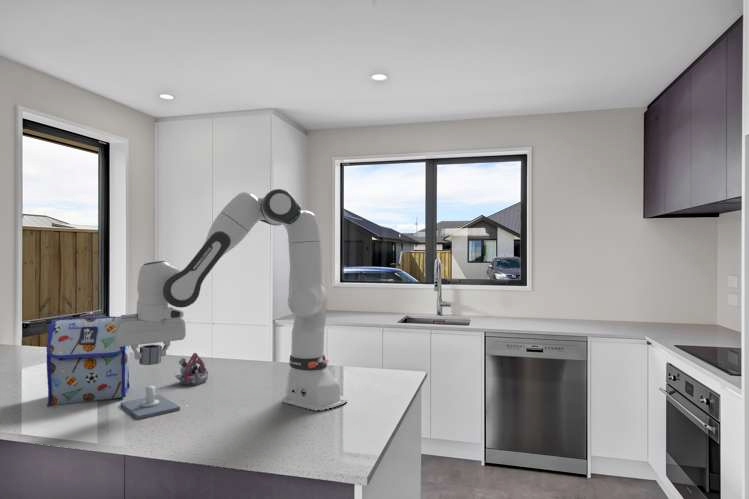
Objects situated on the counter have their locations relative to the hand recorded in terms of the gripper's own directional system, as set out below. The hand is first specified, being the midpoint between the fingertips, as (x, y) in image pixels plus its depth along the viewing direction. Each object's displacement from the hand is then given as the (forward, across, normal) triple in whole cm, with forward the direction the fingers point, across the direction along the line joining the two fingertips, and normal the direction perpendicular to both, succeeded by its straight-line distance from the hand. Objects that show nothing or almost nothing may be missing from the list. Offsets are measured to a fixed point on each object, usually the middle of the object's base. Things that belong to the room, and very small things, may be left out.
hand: (150, 357), depth 142 cm
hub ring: (+2, 0, 0) cm, 2 cm away
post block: (+16, 0, 0) cm, 16 cm away
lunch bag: (+16, -11, +23) cm, 30 cm away
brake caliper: (+16, +22, +19) cm, 33 cm away
